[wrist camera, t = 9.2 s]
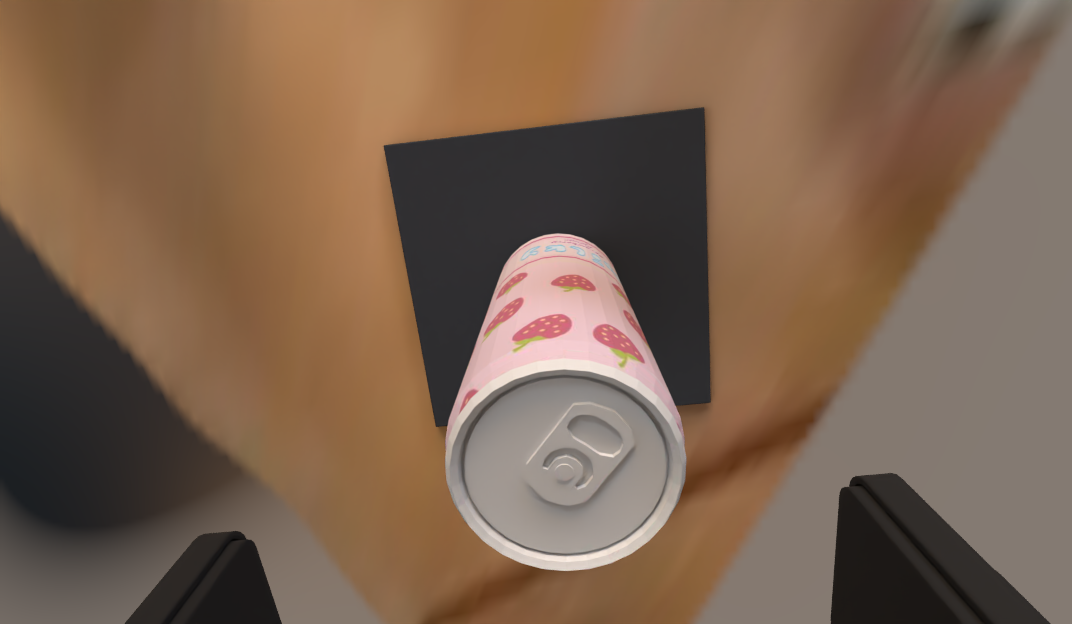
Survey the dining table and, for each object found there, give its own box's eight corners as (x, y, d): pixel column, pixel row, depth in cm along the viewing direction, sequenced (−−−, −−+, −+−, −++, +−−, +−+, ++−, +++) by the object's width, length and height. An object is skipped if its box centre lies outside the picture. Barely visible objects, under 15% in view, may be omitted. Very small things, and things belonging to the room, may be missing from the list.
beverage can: (630, 242, 26) (726, 378, 11) (605, 356, 27) (663, 598, 13) (507, 222, 26) (450, 334, 11) (490, 338, 27) (423, 562, 13)
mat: (385, 145, 25) (383, 145, 25) (702, 107, 24) (704, 107, 24) (437, 424, 29) (436, 427, 29) (709, 400, 28) (710, 402, 28)
